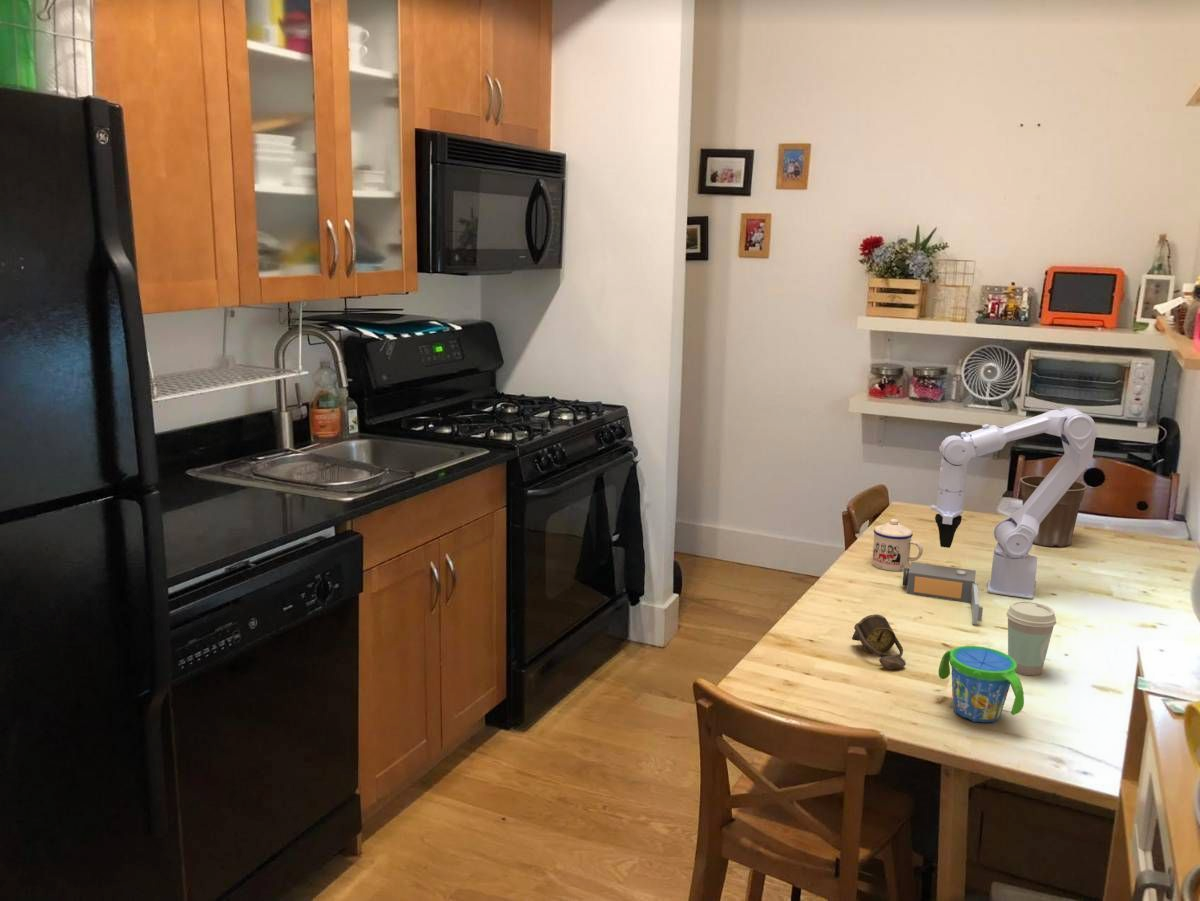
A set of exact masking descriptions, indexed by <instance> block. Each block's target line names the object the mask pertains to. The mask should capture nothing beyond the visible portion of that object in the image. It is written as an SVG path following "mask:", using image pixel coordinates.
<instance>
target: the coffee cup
mask: <svg viewBox="0 0 1200 901" xmlns="http://www.w3.org/2000/svg"><path fill="white" fill-rule="evenodd" d="M1005 615H1006V617H1007V655H1009V656H1010V657H1011V658H1013V659H1014V660H1015V662H1016V663H1017V669H1016V674H1017V673H1018V674H1020V675H1025V676H1039V675H1040V674H1041V673H1042V671H1043V668H1044V664H1045V660H1046V657H1047V654H1048V649H1049V645H1050V642H1051V639H1052V638H1051V637H1052V633H1053V630H1054V626H1055V625H1057V618H1056V615H1055V611H1054V609H1053V608H1051V607H1049V606H1048V605H1045V604H1042V603H1039V602H1034V601H1023V600H1022V601H1021V600H1019V601H1015V602H1012V603H1011V604H1010V606H1009V608H1008V609H1007V612H1006V614H1005Z"/></svg>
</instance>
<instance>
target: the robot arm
mask: <svg viewBox="0 0 1200 901" xmlns="http://www.w3.org/2000/svg"><path fill="white" fill-rule="evenodd" d="M981 427H982V428H979V429H976V430H973V431H970V432H966V431H962V432H960V435H949V436H947V437H946V438H945V439H943V441H941V443H940V445H939V447H938V449H939V452H940V454H941V456H942V457H941V461H940V468H939V476H938V477H939V478H938V485H937V486H938V487H937V495H936V496H937V497H936V504H931V505H930V510H931V511H935V512H936V513H935V517H934V520H935V523H936V525H937V530H938V535H939V536H938V537H939V546H940V547H941V548H946V549H950V548H951V547H952V544H953V541H954V537H955V534H956V531H957V530H958V528H959V526H960V525H961V523H962V519H963V518H962V514H964V510H965V509H964V501H965V493H966V491H965V490H966V481H967V473H968V472H967V467H968V463H969V462H970V460H971V459H972V458H973V459H975V458H978V457H981V456H984V455H988V454H992V453H993V452H997V451H1001V450H1003V448H1004V447H1005V445H1006V444H1007V443H1009V442H1012V441H1016V440H1020V439H1024V438H1029V437H1033V436H1036V435H1041V434H1048V435H1052V436H1056V437H1060V439H1061V443H1062V448H1063V451H1064V454H1063V455H1062V456H1061V458H1059V460H1058V461H1057V462H1056V463H1055V465H1054V466H1053V468H1052V469H1051V470H1050V471H1049V473H1048V474H1047V475H1045V476H1046V477H1045V479H1044V480H1043V481H1042V482H1041V484H1040V485H1039V486H1038V487H1037V488H1036V490H1035V491H1034V492H1033V493H1032V495H1031V496H1030V497H1029V498H1028V500H1027V501H1026V502H1025V503H1024V505H1023V504H1022V506H1021V507H1020V508H1019V509H1017V510H1016V511H1013V512H1012V513H1011V514H1009V516H1008V517H1007V518H1005V519H1003V520H1001V521H1000V522H998V523H997V524H996V526H995V527H994V529H993V536H994V539H995V540H996V541H997V544H996V546H995V547H994V549H993V556H992V564H991V565H992V566H991V574H990V579H989V580H988V581H987V593H988V594H996V595H1002V596H1010V597H1018V598H1024V599H1031V600H1032V599H1034V593H1035V589H1036V585H1037V584H1036V583H1037V581H1036V575H1037V569H1038V568H1037V567H1038V557H1037V556H1036V555H1030V554H1029V553H1030V551H1031V550H1032V548H1033V540H1034V539H1035V537H1036V536H1037V534H1038V530H1039V525H1040V523H1041V522H1042V521H1043V519H1044V518H1045V517H1046V516H1047V515H1048V513H1049V512H1050V511H1051V510H1052V508H1053V507H1054V506H1055V505H1056V504H1057V502H1058V501H1059V500H1060V499H1061V497H1062V496H1063V495H1064V494H1065V493H1066V491H1067V490H1068V489H1069V488H1070V486H1071V485H1072V484H1073V483H1074V482H1075V481H1077V479H1078V478H1079V477H1080V475H1081V474H1082V473H1083V472H1084V470H1085V469H1086V468H1087V467H1088V466H1089V464H1091V462H1092V460H1093V457H1094V456H1093V455H1094V449H1095V442H1096V441H1095V440H1096V439H1097V437H1098V435H1099V432H1098V430H1097V426H1096V423H1095V421H1094V419H1093V418H1092V416H1090V415H1089V414H1086V413H1084V412H1082V411H1080V410H1079V409H1078V408H1076V407H1073V406H1065V407H1062V408H1060V409H1051V410H1049V411H1045V412H1044V413H1040V414H1038V415H1035V416H1033V417H1030V418H1026V419H1023V420H1021V421H1018V422H1014V423H1012V424H1009V425H1007V426H1005V427H1000V426H999V427H998V425H996V424H992V425H989V424H988V423H986V424H982V425H981Z"/></svg>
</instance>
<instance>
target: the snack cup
mask: <svg viewBox="0 0 1200 901" xmlns="http://www.w3.org/2000/svg"><path fill="white" fill-rule="evenodd" d="M1016 669H1017V663H1016V662H1015V660H1014V659H1013V658H1011V657H1010V656H1009V655H1008V653H1007V654H1006V653H1005V652H1002V651H1000V650H998V649H994V648H991V647H985V646H980V645H963V646H958V647H955V648H953V649H950V650H947V651H946V652H945V653H944V654H943V655H942V657H941V660H940V663H939V666H938V676H939V678H940V679H941V680H947V678H949V677H950V674H951V687H952V688H951V689H952V690H951V692H952V706H953V711H954V712H955V713H956V714H958V715H959V716H961V717H962V718H965V719H968V720H969V721H972V722H973V723H976V722H980V723H995V722H996V721H997V720H999V718H1000V717H1001V715H1002V712H1003V709H1004V705H1005V703H1006V701H1007V696H1008V694H1009V690H1010V686H1011V689H1012V692H1013V695H1014V697H1015V698H1014V701H1013V704H1012V707H1011V711H1010V714H1011V715H1012V716H1014V715H1016V714H1017V715H1018V714H1019V713H1020V712H1021V711H1023V708H1024V705H1025V696H1024V688H1023V684H1022V682H1021V679H1020V677H1019V676H1018V674H1017V672H1016Z"/></svg>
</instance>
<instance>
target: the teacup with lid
mask: <svg viewBox="0 0 1200 901" xmlns="http://www.w3.org/2000/svg"><path fill="white" fill-rule="evenodd" d="M873 533H874V534H873V547H872V556H871V557H872V558H871V559H872V560H871V563H872V564H871V565H872V566H874V567H876V568H877V569H880V570H883V571H884V570H885V571H888V572H901V571H904V568H908V569H909V568H910V562H915V561H918V560H919V559H920V558H921V557H922V555H923V551H924V548H923V546H922V544H921V543H920V542H919V541H917V540H912V537H913V535H914V534H913V532H912V529H910V528H908V527H906V526H905V525H902V524H901V523H899V520H898V519H896V518H891V519H889V522H885V523H884V524H879V525H876V526H875V527H874V529H873ZM911 545H915V546H916V547H917V548H918V554H917V556H916V557H910V555H911Z"/></svg>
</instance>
